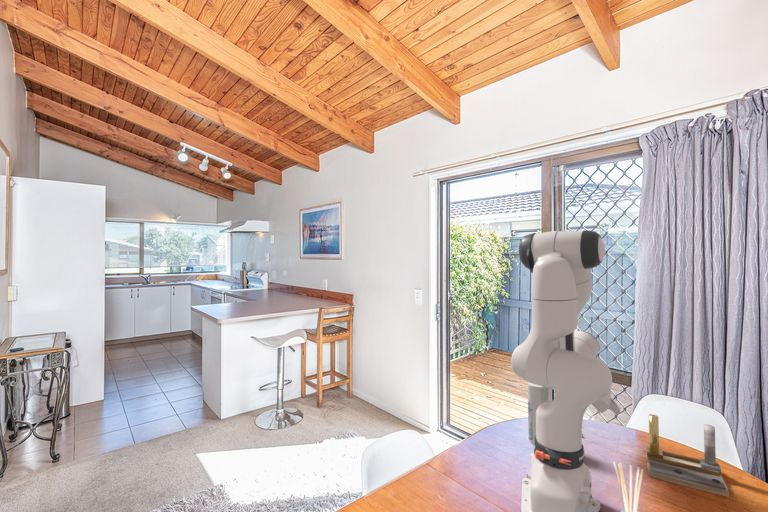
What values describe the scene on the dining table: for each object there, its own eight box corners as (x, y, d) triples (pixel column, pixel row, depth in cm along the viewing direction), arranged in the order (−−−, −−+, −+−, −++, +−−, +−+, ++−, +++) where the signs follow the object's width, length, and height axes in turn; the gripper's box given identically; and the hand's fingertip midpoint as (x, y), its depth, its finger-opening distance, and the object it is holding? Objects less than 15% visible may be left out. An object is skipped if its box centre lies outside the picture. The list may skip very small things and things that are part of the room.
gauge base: (728, 497, 94) (727, 443, 94) (648, 476, 104) (647, 427, 104) (716, 471, 106) (715, 423, 106) (645, 454, 115) (645, 410, 115)
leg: (663, 460, 108) (662, 419, 109) (646, 456, 111) (646, 416, 111) (661, 454, 112) (661, 415, 112) (646, 450, 114) (645, 412, 114)
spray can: (530, 435, 128) (529, 379, 128) (549, 440, 125) (549, 382, 125) (526, 443, 123) (525, 385, 123) (547, 448, 119) (546, 388, 119)
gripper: (589, 381, 112) (627, 419, 107) (592, 363, 129) (626, 395, 124) (573, 392, 115) (610, 430, 109) (579, 374, 132) (611, 406, 126)
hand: (618, 412), depth 117 cm, fingers closed
